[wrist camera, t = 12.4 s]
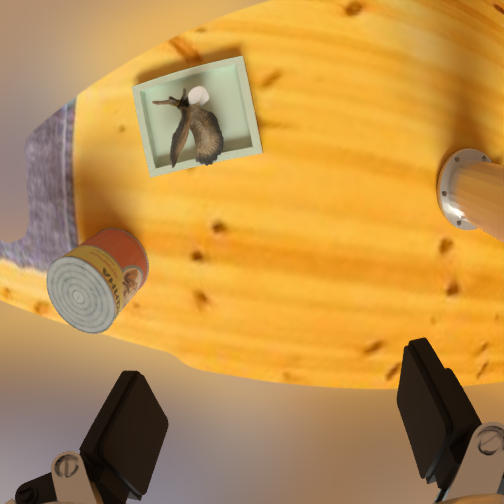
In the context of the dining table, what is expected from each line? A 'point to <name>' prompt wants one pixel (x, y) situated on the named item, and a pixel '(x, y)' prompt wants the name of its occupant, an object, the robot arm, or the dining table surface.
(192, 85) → the tray
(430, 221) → the dining table surface
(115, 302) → the canned food
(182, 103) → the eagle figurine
